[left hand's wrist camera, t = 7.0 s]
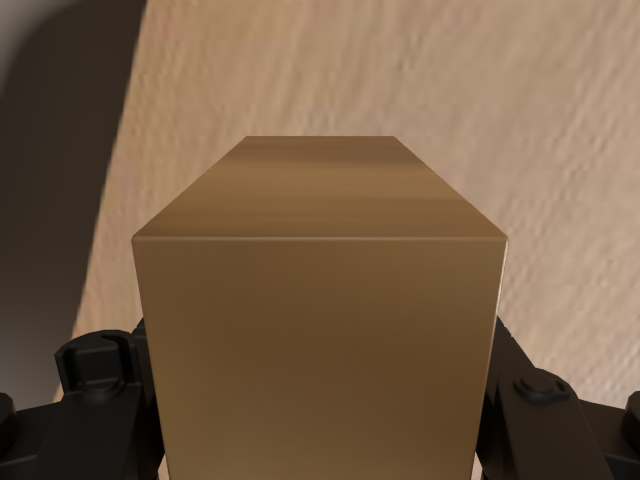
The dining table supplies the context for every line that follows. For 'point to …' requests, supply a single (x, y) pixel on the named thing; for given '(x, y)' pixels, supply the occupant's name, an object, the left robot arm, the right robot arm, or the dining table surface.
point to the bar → (320, 315)
